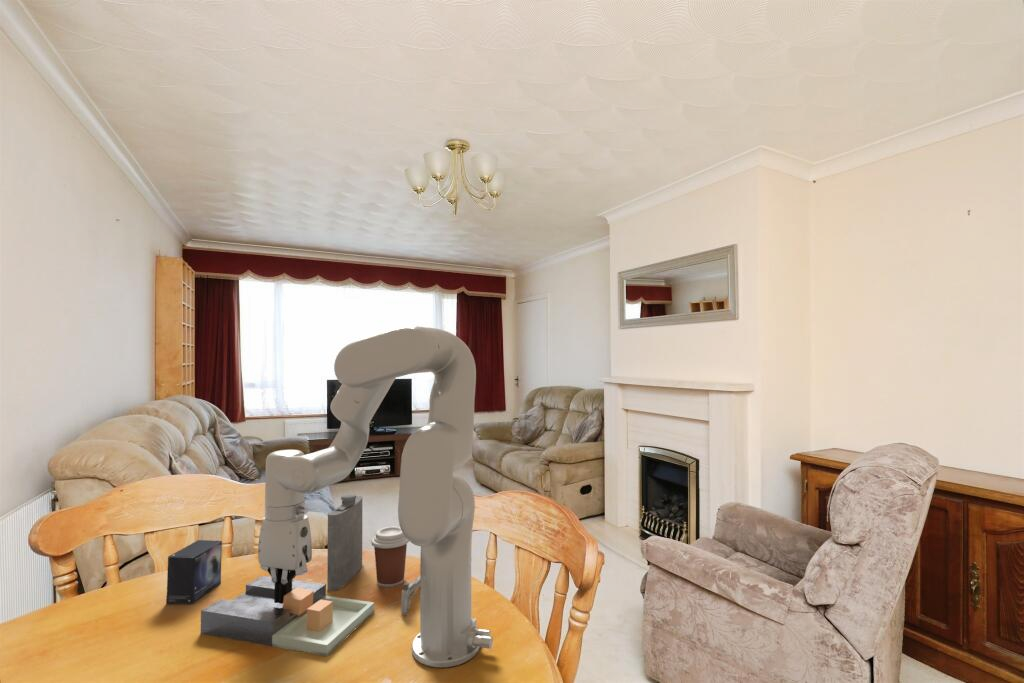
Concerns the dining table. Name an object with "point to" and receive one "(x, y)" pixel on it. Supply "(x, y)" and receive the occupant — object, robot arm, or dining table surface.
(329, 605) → the chip
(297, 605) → the chip
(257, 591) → the slot block
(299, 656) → the dining table surface
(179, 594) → the small box
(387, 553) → the coffee cup
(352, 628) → the tray
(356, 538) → the hip flask
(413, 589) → the caliper
